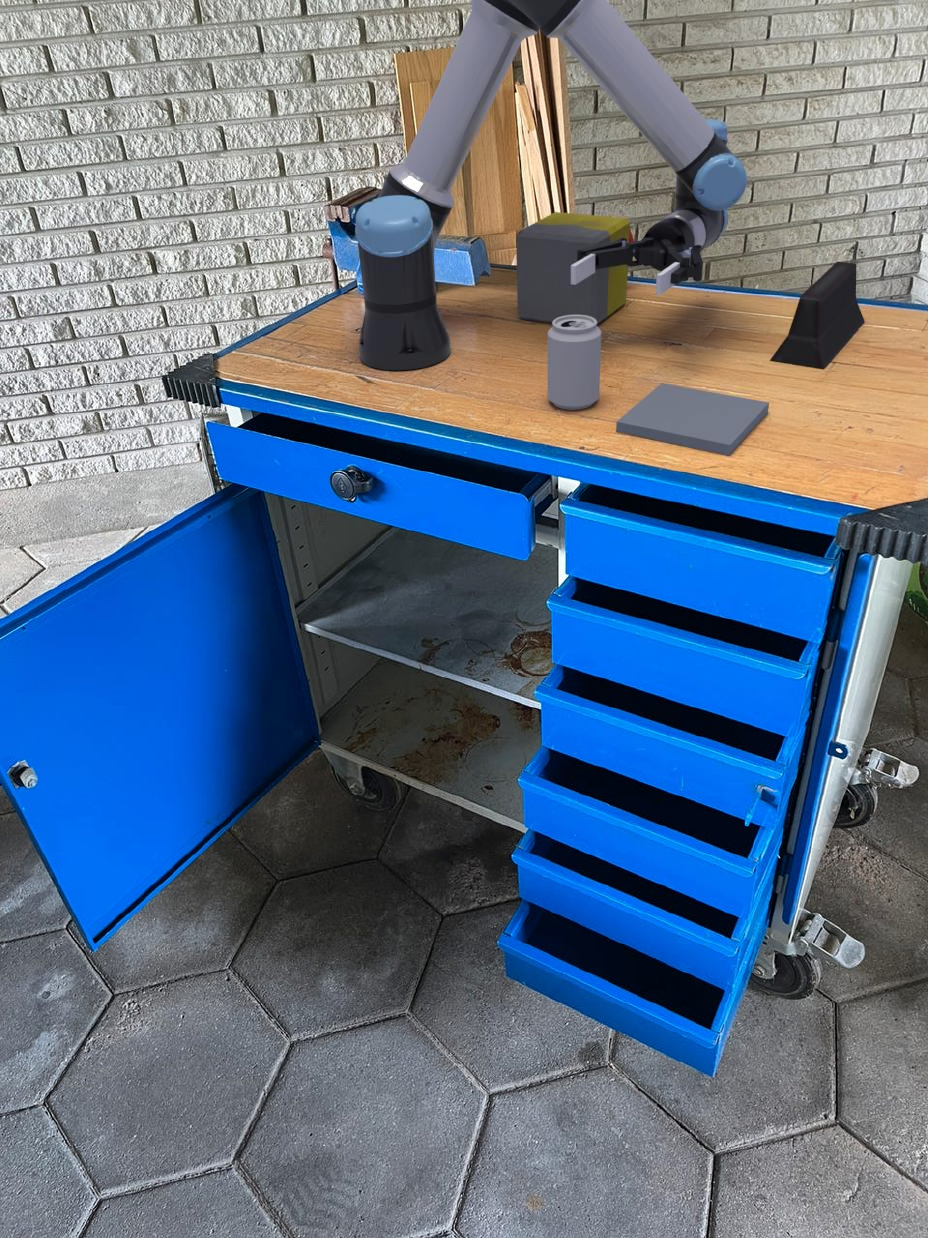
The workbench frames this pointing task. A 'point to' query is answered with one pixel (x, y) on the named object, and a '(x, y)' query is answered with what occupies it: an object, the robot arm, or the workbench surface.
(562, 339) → the can
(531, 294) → the emergency stop button
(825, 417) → the workbench surface
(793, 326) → the barrier
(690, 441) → the slate board
